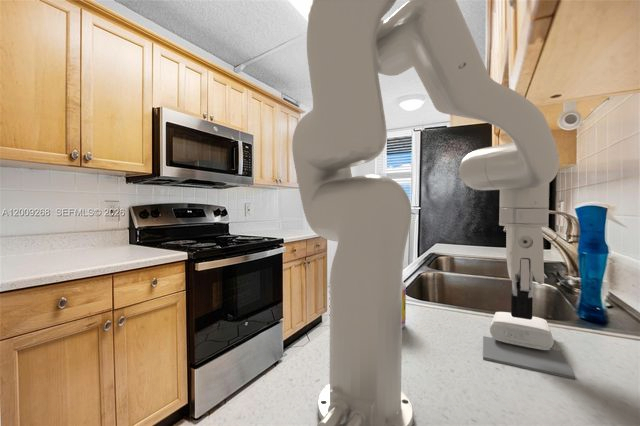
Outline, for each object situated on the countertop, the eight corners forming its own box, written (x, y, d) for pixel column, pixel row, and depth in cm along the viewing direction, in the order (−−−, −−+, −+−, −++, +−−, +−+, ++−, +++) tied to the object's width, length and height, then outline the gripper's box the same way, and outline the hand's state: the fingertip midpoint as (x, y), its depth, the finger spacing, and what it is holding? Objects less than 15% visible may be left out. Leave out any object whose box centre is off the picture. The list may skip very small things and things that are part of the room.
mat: (575, 379, 48) (575, 376, 48) (483, 359, 54) (483, 356, 54) (561, 352, 57) (561, 350, 57) (483, 337, 63) (483, 335, 63)
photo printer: (488, 318, 60) (494, 308, 70) (488, 340, 60) (494, 326, 70) (553, 329, 54) (549, 316, 65) (553, 354, 54) (549, 336, 64)
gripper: (557, 220, 47) (554, 336, 47) (541, 217, 60) (539, 308, 60) (500, 219, 50) (499, 327, 51) (497, 216, 63) (496, 302, 64)
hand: (521, 316), depth 56 cm, fingers closed
